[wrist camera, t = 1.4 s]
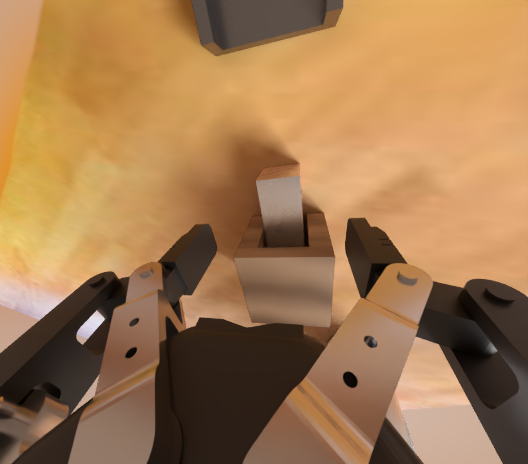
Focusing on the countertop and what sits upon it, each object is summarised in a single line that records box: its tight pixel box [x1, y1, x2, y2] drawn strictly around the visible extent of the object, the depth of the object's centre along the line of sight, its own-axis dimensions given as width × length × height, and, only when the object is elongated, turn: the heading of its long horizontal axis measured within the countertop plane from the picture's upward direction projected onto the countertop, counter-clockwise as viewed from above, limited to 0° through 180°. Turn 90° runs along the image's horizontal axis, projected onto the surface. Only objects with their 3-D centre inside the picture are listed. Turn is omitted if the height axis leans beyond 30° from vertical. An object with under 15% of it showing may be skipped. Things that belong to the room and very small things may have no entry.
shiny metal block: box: [256, 164, 305, 248], centre depth 21 cm, size 11×4×5 cm, turn 9°
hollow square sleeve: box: [234, 213, 335, 327], centre depth 23 cm, size 10×9×8 cm
